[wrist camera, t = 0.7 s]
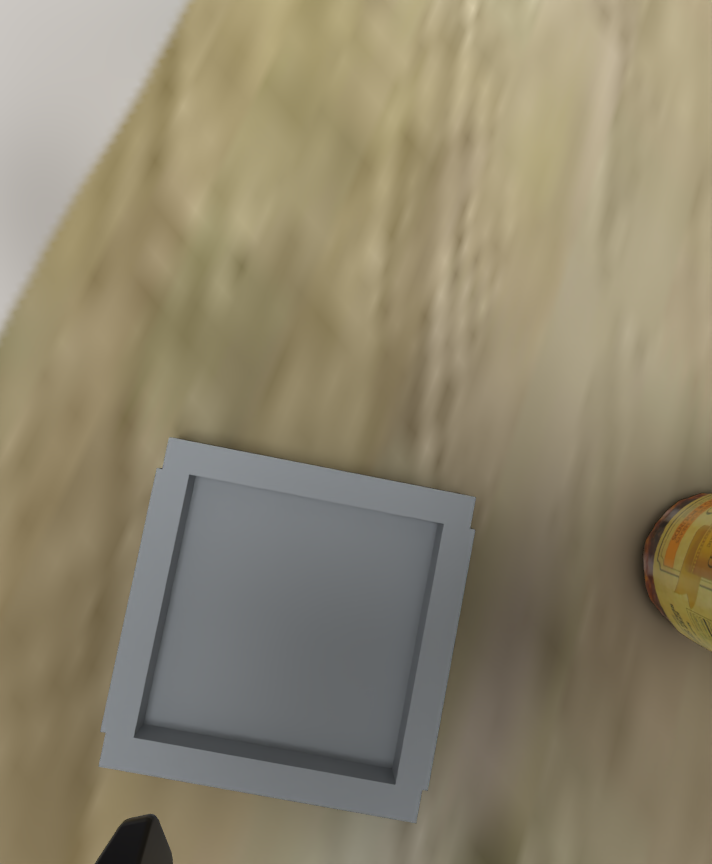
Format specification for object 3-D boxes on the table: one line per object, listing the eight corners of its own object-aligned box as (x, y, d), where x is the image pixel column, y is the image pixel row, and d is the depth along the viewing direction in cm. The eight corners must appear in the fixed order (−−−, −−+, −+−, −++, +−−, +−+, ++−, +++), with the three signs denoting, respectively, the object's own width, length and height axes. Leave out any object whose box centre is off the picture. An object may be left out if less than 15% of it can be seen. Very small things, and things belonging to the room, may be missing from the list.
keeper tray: (414, 795, 25) (421, 824, 23) (112, 740, 24) (92, 765, 22) (469, 495, 25) (481, 498, 23) (176, 438, 25) (163, 436, 23)
